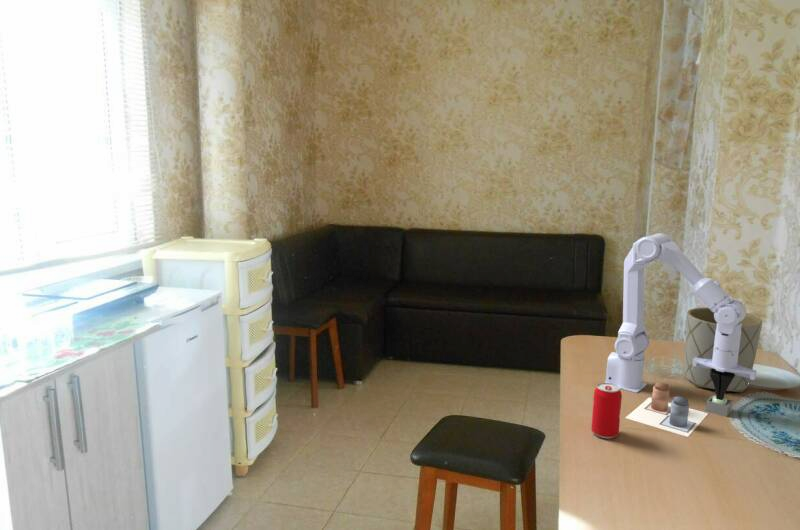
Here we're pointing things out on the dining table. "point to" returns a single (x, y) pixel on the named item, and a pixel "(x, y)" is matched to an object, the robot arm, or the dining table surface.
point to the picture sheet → (665, 418)
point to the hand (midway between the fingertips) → (720, 398)
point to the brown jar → (660, 397)
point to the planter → (702, 346)
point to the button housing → (718, 407)
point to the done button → (723, 402)
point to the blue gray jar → (679, 412)
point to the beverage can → (606, 410)
